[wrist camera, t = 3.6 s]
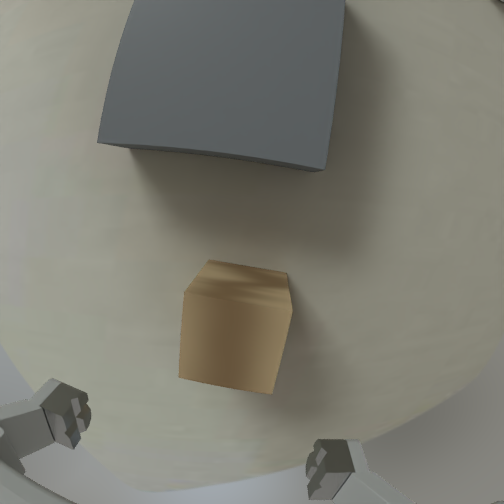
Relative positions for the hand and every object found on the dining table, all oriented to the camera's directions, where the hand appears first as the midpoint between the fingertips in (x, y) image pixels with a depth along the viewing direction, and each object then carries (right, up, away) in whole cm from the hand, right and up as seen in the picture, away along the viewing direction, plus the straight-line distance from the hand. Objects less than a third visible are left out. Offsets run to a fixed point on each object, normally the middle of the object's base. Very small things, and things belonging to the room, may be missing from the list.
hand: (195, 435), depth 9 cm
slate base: (+1, +19, +8) cm, 20 cm away
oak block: (+1, +3, +11) cm, 12 cm away
